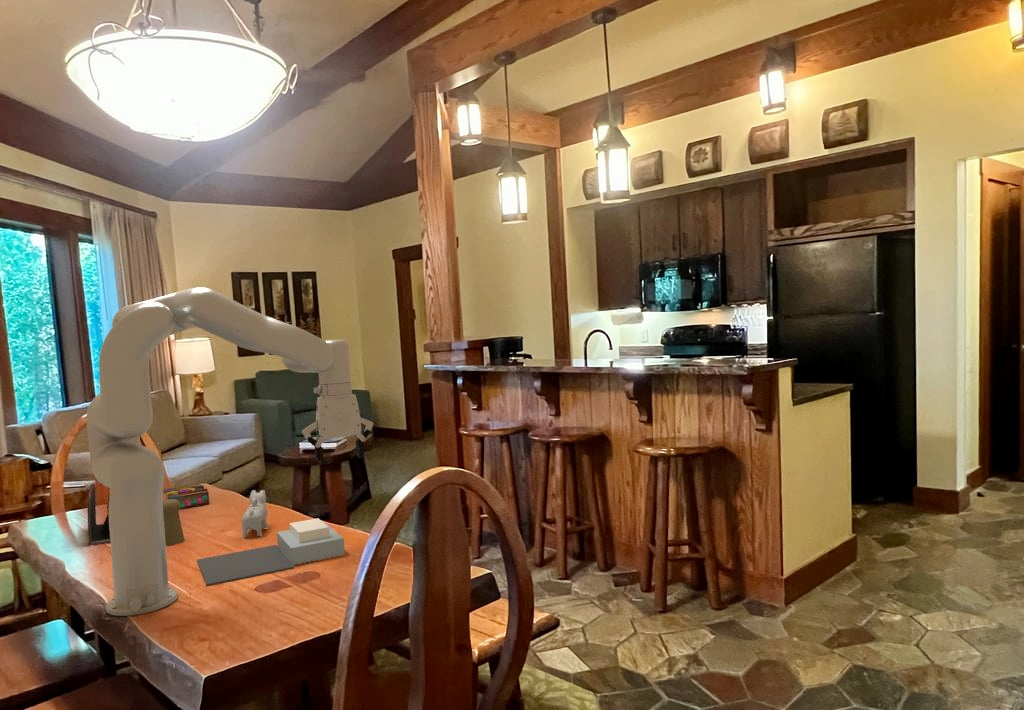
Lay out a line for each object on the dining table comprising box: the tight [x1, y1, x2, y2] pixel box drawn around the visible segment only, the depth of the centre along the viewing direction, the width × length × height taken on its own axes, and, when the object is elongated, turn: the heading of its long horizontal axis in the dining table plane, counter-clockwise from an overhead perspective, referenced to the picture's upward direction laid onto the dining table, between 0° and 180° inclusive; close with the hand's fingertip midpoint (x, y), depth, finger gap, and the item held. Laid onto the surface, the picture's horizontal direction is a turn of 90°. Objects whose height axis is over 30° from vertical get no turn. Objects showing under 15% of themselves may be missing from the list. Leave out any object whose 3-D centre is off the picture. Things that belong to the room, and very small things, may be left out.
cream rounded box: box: [289, 517, 330, 543], centre depth 169 cm, size 10×7×2 cm
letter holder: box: [86, 483, 111, 547], centre depth 194 cm, size 10×20×14 cm, turn 28°
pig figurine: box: [241, 489, 269, 539], centre depth 188 cm, size 5×13×11 cm, turn 9°
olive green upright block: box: [163, 499, 185, 547], centre depth 183 cm, size 6×6×11 cm
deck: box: [276, 522, 346, 566], centre depth 169 cm, size 16×12×4 cm
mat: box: [196, 544, 295, 587], centre depth 161 cm, size 20×18×1 cm
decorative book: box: [163, 484, 210, 510], centre depth 226 cm, size 11×16×5 cm
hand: (340, 460), depth 172 cm, fingers open, 9 cm apart
